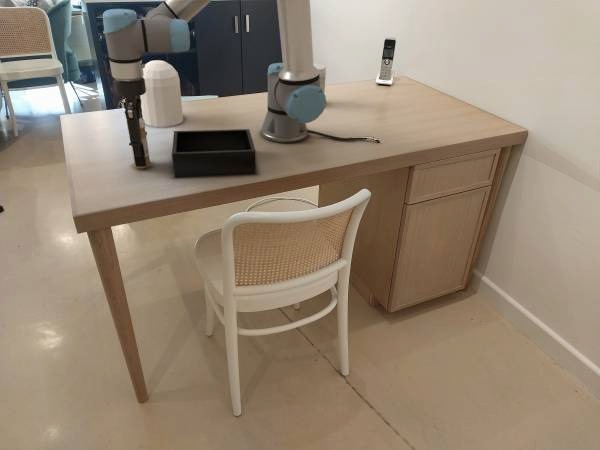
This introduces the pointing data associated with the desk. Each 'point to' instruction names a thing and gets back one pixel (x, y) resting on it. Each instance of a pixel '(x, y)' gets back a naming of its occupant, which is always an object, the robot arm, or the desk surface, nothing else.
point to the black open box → (213, 153)
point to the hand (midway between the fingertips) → (141, 161)
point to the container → (161, 95)
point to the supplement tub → (321, 75)
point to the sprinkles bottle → (145, 145)
